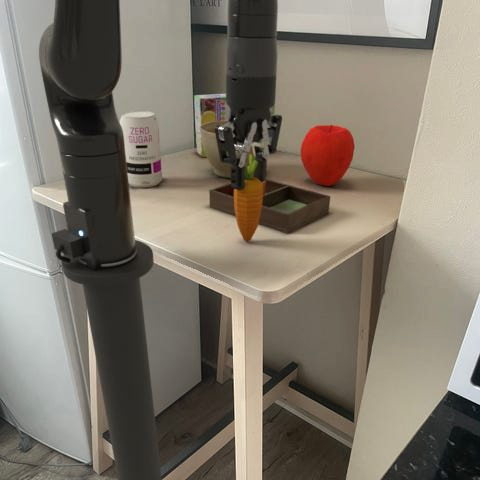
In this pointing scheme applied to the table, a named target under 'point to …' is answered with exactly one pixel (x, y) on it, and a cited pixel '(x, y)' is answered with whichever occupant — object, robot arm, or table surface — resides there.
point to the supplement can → (142, 148)
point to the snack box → (212, 114)
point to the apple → (327, 153)
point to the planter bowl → (212, 149)
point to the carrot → (249, 201)
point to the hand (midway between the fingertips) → (248, 184)
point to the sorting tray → (278, 205)
